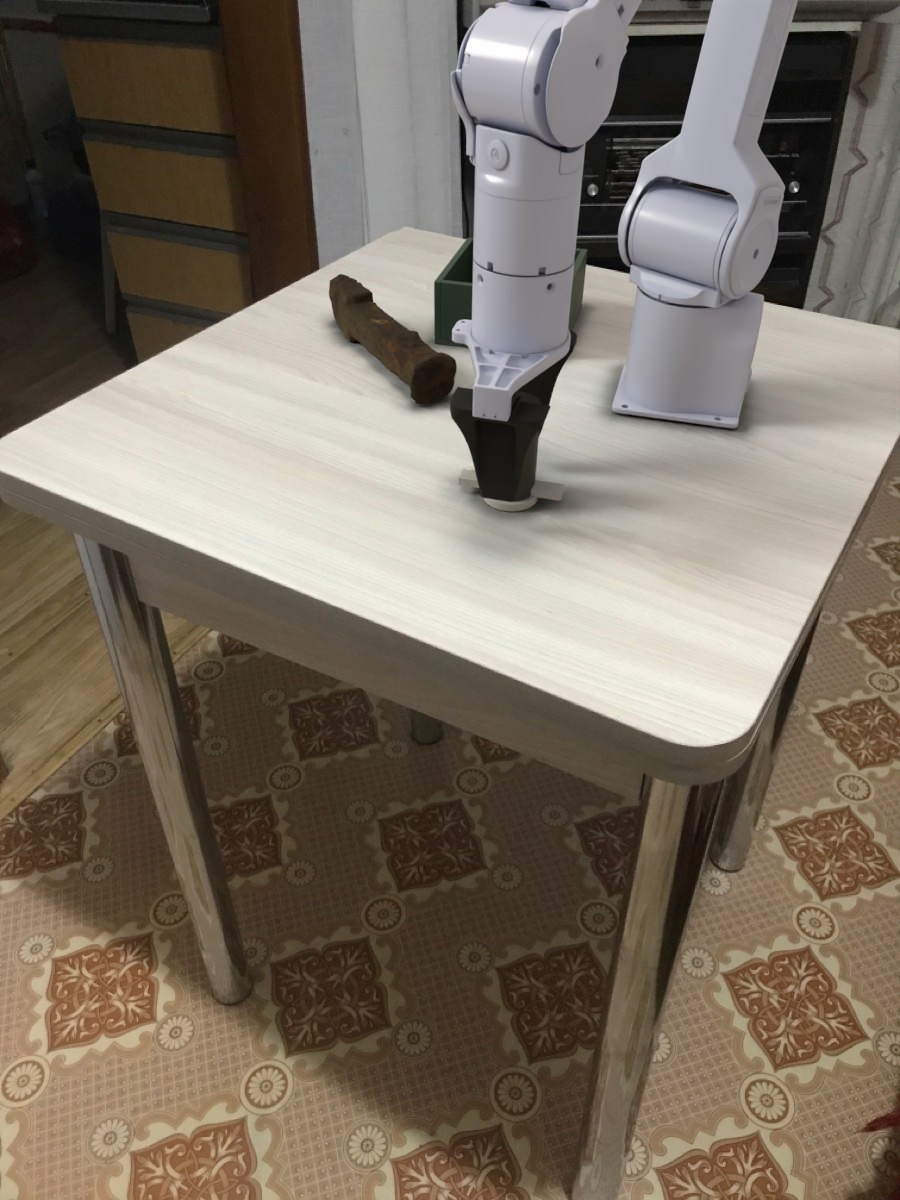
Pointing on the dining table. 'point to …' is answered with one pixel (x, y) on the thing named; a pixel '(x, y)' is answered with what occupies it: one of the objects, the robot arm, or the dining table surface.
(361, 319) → the hand tool
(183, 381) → the dining table surface
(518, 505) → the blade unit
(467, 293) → the green storage bin
